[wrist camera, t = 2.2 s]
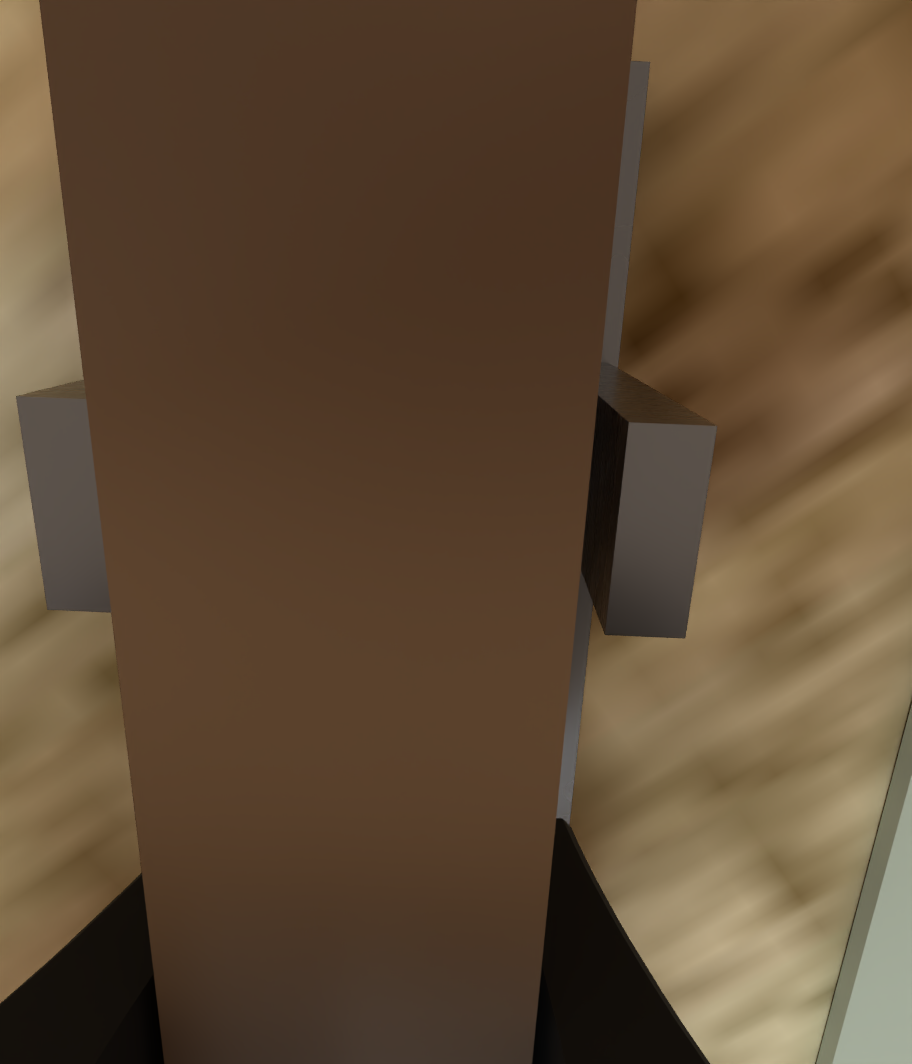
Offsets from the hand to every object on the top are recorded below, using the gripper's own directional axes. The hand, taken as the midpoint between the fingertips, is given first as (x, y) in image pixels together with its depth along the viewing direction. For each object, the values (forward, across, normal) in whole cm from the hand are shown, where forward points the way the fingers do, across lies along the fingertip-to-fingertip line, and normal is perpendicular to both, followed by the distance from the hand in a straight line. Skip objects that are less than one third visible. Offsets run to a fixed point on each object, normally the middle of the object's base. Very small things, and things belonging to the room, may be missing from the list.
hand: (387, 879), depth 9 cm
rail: (0, 0, 0) cm, 0 cm away
